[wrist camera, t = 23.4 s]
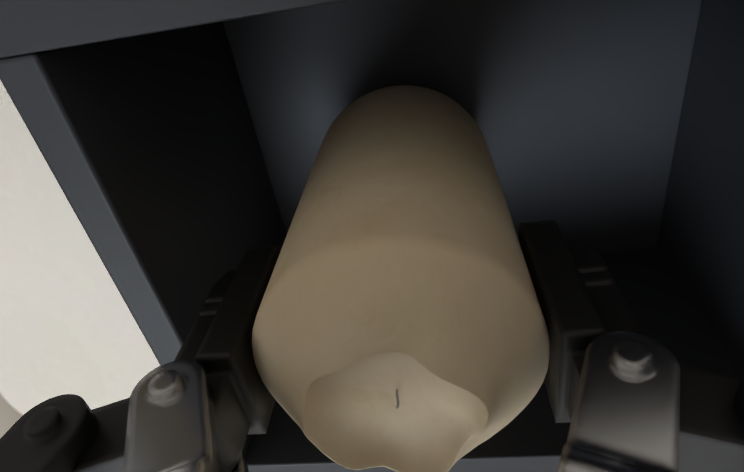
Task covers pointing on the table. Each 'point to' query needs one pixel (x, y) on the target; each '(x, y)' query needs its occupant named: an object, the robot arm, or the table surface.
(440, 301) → the candle
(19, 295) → the table surface
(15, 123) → the table surface
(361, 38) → the dark grey open box
